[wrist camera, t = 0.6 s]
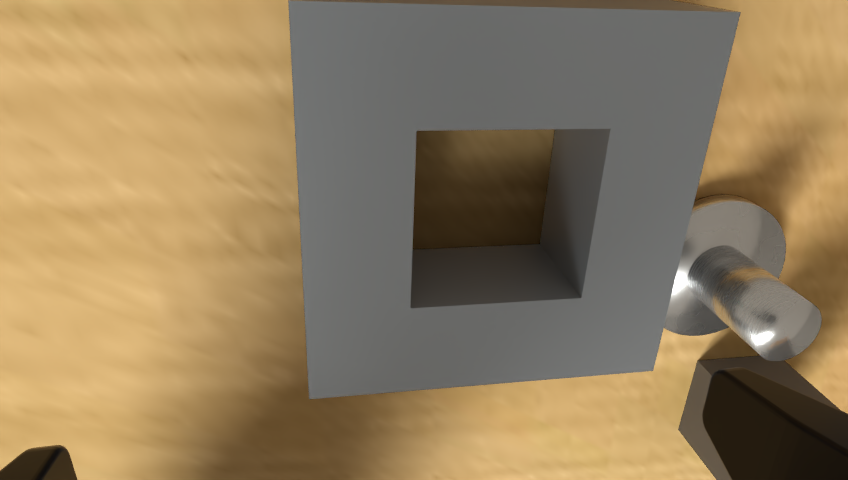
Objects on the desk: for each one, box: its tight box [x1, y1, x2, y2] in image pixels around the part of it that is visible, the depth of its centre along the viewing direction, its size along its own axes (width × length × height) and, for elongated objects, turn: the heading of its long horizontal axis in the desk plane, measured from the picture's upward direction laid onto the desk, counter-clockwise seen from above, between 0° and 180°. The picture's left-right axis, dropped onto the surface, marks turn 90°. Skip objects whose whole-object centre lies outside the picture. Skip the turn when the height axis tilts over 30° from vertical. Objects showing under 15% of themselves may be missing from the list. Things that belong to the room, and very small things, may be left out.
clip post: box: [664, 195, 822, 361], centre depth 23 cm, size 6×6×5 cm
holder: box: [289, 0, 741, 399], centre depth 20 cm, size 12×12×4 cm
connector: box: [678, 356, 841, 480], centre depth 25 cm, size 4×4×8 cm
